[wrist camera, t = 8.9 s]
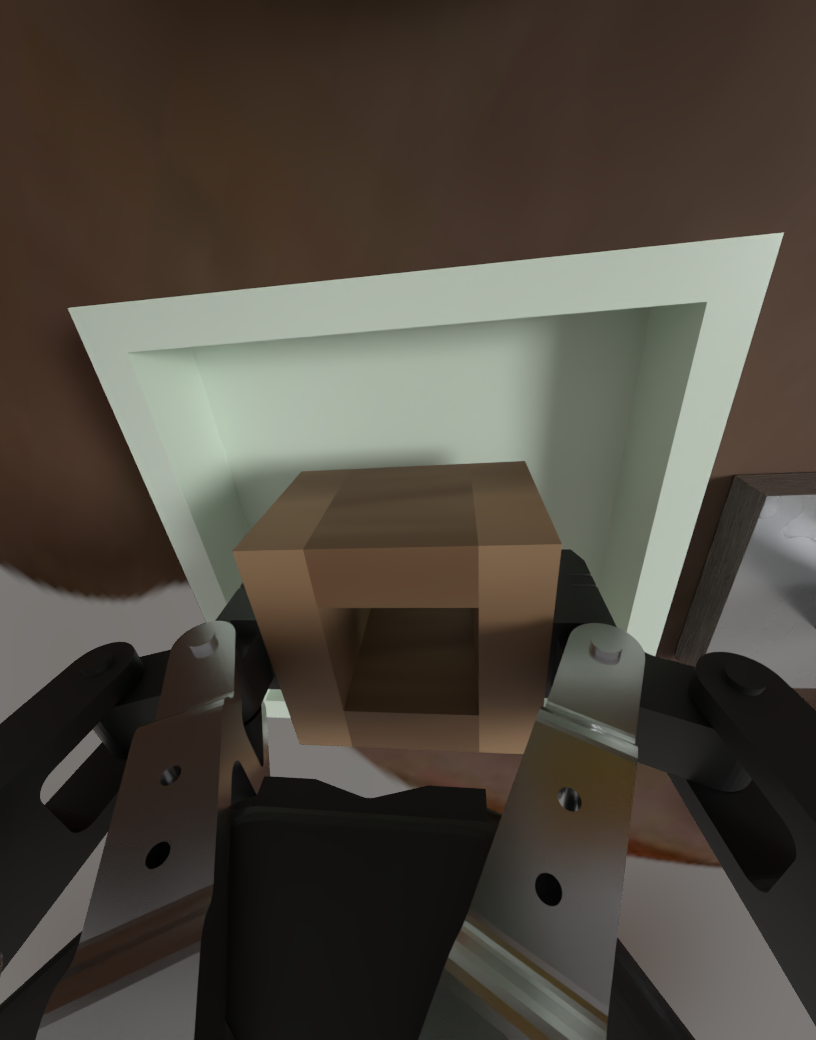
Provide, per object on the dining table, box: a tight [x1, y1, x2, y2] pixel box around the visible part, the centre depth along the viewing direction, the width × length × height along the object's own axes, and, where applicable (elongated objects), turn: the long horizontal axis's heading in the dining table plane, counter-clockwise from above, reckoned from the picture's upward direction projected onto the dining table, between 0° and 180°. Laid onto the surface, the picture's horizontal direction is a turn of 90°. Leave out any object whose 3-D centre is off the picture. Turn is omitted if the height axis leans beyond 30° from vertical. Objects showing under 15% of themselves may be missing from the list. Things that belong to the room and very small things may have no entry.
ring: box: [232, 461, 562, 754], centre depth 11 cm, size 7×6×4 cm
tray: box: [68, 233, 784, 718], centre depth 13 cm, size 14×14×3 cm
